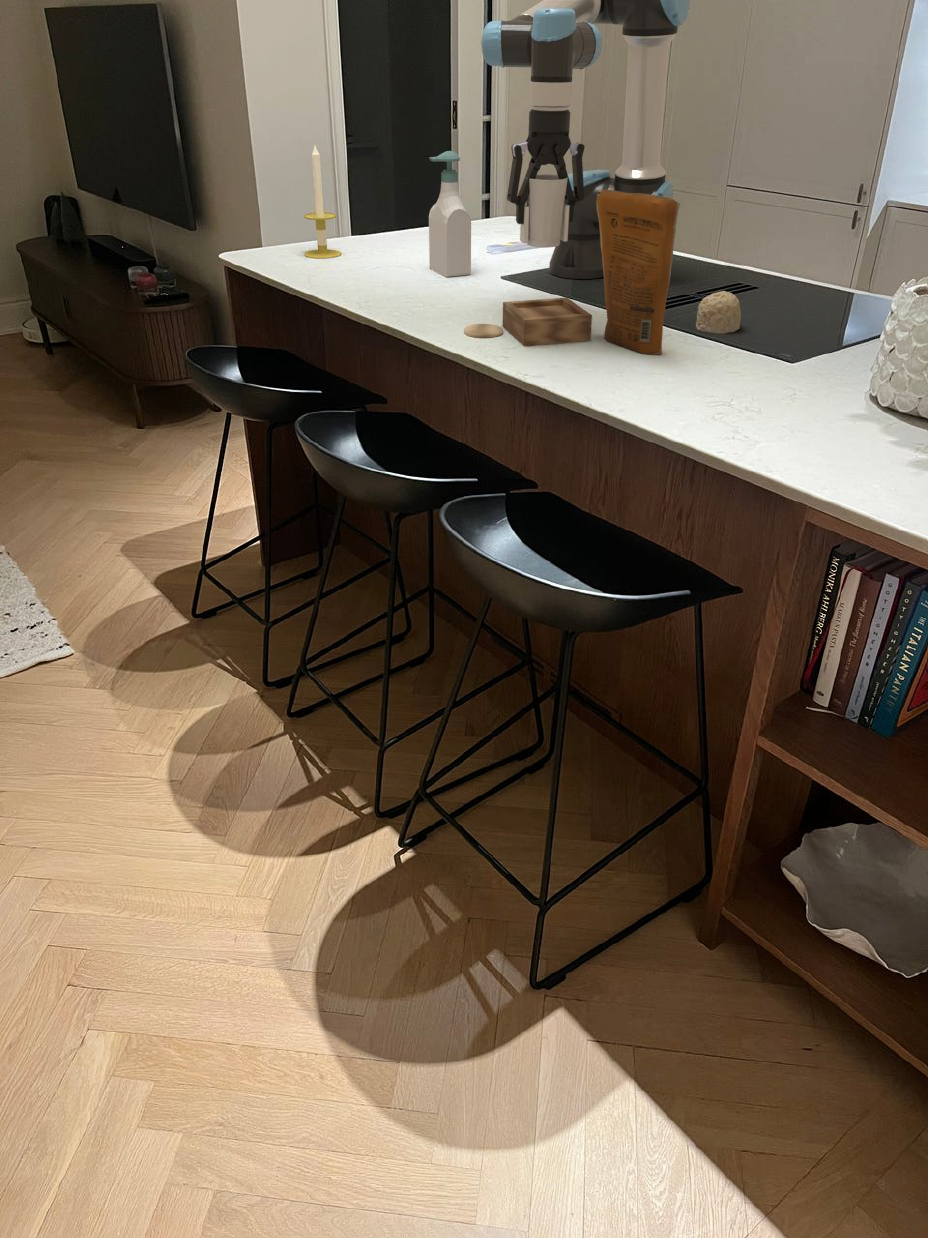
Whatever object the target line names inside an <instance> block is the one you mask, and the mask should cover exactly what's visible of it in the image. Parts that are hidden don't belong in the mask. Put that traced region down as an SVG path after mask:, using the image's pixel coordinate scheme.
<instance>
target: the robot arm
mask: <svg viewBox="0 0 928 1238" xmlns="http://www.w3.org/2000/svg"><path fill="white" fill-rule="evenodd" d="M690 5H691V3H690V0H541V1H540V2H538V3H537V4H535V5H533V6H532V7H530V8H529V9H527V10H525V11H524V12H522V13H521V14H519V15H517V16H516V17H514V18H512V19H511V20H503V19H500V20H495V21H494V20H493V21H489V22H488V23H486V25H485V27H484V28H483V32H482V35H481V53H482V57H483V60H484V61H485V63H486V64H487V65H489V66H490V67H492V66H494V67H501V68H502V69H503V68H530V83H529V84H530V86H529V88H530V89H529V92H530V93H529V105H530V106H531V107H532V108H531V109H530V111H529V112H528V135H527V138H526V140H525V142H522V143H519V144H516V143H513V144H512V145H511V155H512V163H511V169H510V175H509V181H508V188H507V195H506V200H507V201H508V202H509V203H512V204H514V205H515V221H516V224H518V225H519V226H520V227H519V230H520V231H519V241H520V242H521V243H523V244H527V243H528V223H529V207H528V206H527V199H528V196H529V193H530V184H529V179H535V178H536V175H537V174H538V173H539V172H540V170H541V167H542V166H547V165H552V166H553V167H554V169H555V171H556V175H558V178H559V180H560V179H565V178H568V180H567V187H566V194H565V199H564V207H563V215H562V223H561V231H560V245H559V246H556V247H554V249H553V252H552V254H551V258H550V260H549V266H548V272H549V273H550V275H552V276H555V277H559V278H564V279H576V280H589V279H592V280H593V279H600V278H604V273H603V262H602V251H601V242H600V228H599V219H598V213H597V205H596V200H597V194H599V195H600V193H601V191H602V190H612V191H619V192H624V193H640V194H648V195H656V196H662V197H667V198H671V199H674V198H673V197H674V185H673V183H671V182H669V181H667V180H666V177H667V175H666V174H667V171H666V170H665V168H664V167H663V166H662V164H661V153H662V142H663V141H662V140H663V126H664V114H665V104H666V103H665V102H666V88H667V87H666V86H667V77H668V76H667V75H668V65H669V63H668V62H669V51H670V50H669V49H670V48H669V47H670V44H671V42H672V41H673V39H674V38H676V37H677V35H678V29H679V28H678V27H680V26H682V25H684V23H685V22H686V21H687V19H688V15H689V12H688V11H689V9H690ZM596 24H597V25H600V24H601V25H619V26H621V25H622V31H621V32H622V33H621V36H622V37H623V39H624V40H625V41H626V42H627V44H628V53H627V70H626V71H627V73H626V89H625V107H624V108H625V109H624V124H623V125H624V126H623V143H622V144H623V145H622V161H621V165H620V166H619V167H618V168H617V169H616V170H615V172H614V177H612V174H611V171H610V169H593V170H584V167H583V155H584V152H585V148H586V147H585V145H584V144H583V143H580V142H573V141H572V140H571V138H570V127H571V126H570V125H571V111H570V110H569V109H568V108H569V107H570V106H571V105H572V94H573V93H572V91H573V90H572V89H573V88H572V87H573V86H572V85H573V74H574V73H573V72H574V71H573V70H584V69H585V68H588V67H591V66H592V65H593V64H595V63H596V62H597V61H598V59H599V58H600V56H601V53H602V49H603V38H602V34H601V32H600V30H599V28H598V27H597V26H596ZM526 151H528V153H529V155H530V156H531V158H530V160H529V162H528V167H527V170H526V173H525V176H524V179H523V181H522V183H521V186H520V181H521V175H522V168H523V163H524V162H523V158H524V157H525V155H526ZM568 151H570V152H569V153H570V154H571V169H572V172H571V173H568V171H567V165H566V161H565V158H564V156H565V155H566V154H567V152H568ZM526 178H528V179H526ZM519 187H520V189H519Z"/></svg>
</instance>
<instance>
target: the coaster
mask: <svg viewBox="0 0 928 1238" xmlns="http://www.w3.org/2000/svg"><path fill="white" fill-rule="evenodd" d="M463 334H464V335H466V336H468V337H471V338H475V339H477V338H479V339H491V338H497V337H499V336H501V335H503V334H504V328H503V327H502V326H499V325H497V324H491V323H476V324H469V325H466V326H465V327H464V328H463Z"/></svg>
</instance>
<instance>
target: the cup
mask: <svg viewBox="0 0 928 1238" xmlns="http://www.w3.org/2000/svg"><path fill="white" fill-rule="evenodd" d="M526 179H528V178H526ZM567 180H568V178H565V179H560V180H559V178H558V175H557V174H551V173H550V174H545V173H544V174H540V173H539V174H538V173H537V175H536V178H535V179H529V184H530V193H529V196H528V199H527V201H526V205H527V206H528V207H529V223H528V243H526V245H527V246H529V247H534V248H555V247H556V246H559V245H560V231H561V223H562V215H563V207H564V199H565V194H566V187H567Z"/></svg>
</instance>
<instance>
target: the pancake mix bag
mask: <svg viewBox="0 0 928 1238" xmlns="http://www.w3.org/2000/svg"><path fill="white" fill-rule="evenodd" d="M596 205H597V213H598V219H599V228H600V242H601V251H602V262H603V273H604V277H603V283H604V302H605V310H606V319H607V321H606V324H605V328H604V334H603V336H604V337H603V339H604V341H606V342H608V343H611V344H615V345H617V346H620V347H624V348H626V349H629V350H631V351H633V352H636V353H639V354H642V355H643V354H644V355H663V334H664V333H663V330H664V329H663V328H664V326H663V325H664V319H665V318H664V317H665V312H666V307H667V306H666V305H667V304H666V303H667V299H668V292H669V286H670V282H671V275H672V274H671V273H672V263H673V258H674V246H675V239H676V234H677V233H676V232H677V224H678V223H677V222H678V216H679V215H678V214H679V212H680V211H679V210H680V206H681V203H680V202H678V201H676V200H675V199H674V198H673V199H671V198H667V197H662V196H656V195H648V194H640V193H624V192H619V191H612V190H602V191H601V193H600V195H599V194H597V200H596Z"/></svg>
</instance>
